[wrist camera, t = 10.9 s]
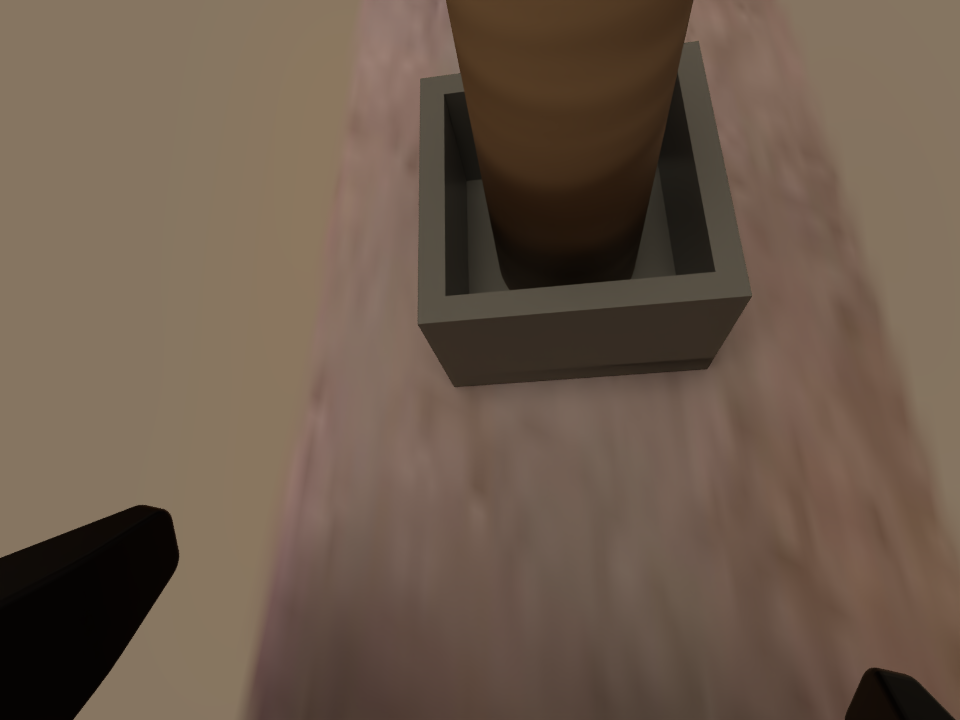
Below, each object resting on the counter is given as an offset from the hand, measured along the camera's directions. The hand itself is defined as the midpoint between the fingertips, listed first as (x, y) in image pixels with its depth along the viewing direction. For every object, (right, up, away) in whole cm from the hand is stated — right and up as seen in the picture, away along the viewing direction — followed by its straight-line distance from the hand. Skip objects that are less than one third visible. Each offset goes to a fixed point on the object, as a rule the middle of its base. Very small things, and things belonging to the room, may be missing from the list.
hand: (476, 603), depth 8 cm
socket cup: (+3, +6, +13) cm, 15 cm away
